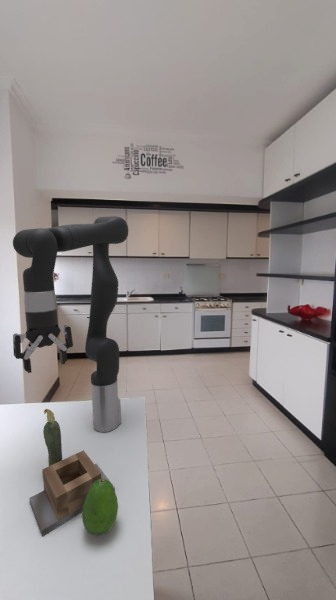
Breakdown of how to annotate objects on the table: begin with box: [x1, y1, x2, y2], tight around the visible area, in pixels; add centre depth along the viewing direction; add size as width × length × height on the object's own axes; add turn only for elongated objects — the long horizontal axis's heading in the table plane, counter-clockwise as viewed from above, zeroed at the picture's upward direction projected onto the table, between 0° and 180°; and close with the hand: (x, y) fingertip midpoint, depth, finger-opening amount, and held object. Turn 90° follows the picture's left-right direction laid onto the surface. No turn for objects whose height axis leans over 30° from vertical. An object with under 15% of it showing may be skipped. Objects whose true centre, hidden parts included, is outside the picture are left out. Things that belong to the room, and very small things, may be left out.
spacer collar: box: [28, 450, 116, 537], centre depth 70 cm, size 18×11×8 cm, turn 129°
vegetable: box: [42, 408, 63, 467], centre depth 77 cm, size 4×4×20 cm
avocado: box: [81, 479, 119, 536], centre depth 61 cm, size 8×8×12 cm
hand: (46, 367), depth 73 cm, fingers open, 8 cm apart
